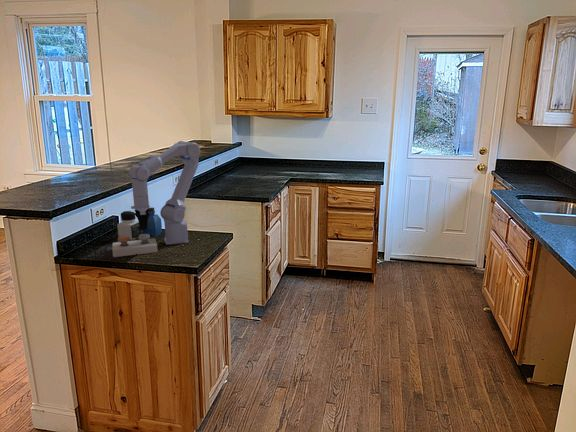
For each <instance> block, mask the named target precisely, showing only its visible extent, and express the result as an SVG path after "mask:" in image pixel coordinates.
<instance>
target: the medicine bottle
mask: <svg viewBox="0 0 576 432" xmlns="http://www.w3.org/2000/svg"><path fill="white" fill-rule="evenodd" d="M135 213H136V212H135V211H134V210H133V211H132V210H124V211H122V212H121V213H120V221H121V222H118V223H117V224H116V225H117V226H116V227H117V235H118V237H120V236H129V237H130V240H129V241H135V240H136V239H139V235H141V234H142V230H141V228H140V224H139V221H138V220H137V219H136V218H137V217H136V215H135Z"/></svg>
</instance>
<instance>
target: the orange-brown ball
mask: <svg viewBox="0 0 576 432" xmlns="http://www.w3.org/2000/svg"><path fill="white" fill-rule="evenodd" d="M127 241H131V240H130V237H129V236H120V237H119V236H118V237H117V242H121V247H122V246H128V245H127Z"/></svg>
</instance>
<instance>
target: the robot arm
mask: <svg viewBox="0 0 576 432" xmlns="http://www.w3.org/2000/svg"><path fill="white" fill-rule="evenodd" d="M201 153H202V151H201V148H200V147H199V144H198V143H196V142H194V141H193V142H192V141H191V142H190V141H183V140H179V141H178V142H176V143H174V144H173V145H172V146H171V147H168V148H167V149H166V150H164V151H163V152H162V153H160V154H159V155H157V156H156V155H149V156H147V159H145V160H143V161H140V162H138V164H134V165H131V167H129V170H128V172H127V176H128V178H130V181H131V188H132V198H133V205H132V206H131V207H130V208H131V210H134V212H135V218H137V219H136V220H137V221H139V224H140V228H141V231H143V230H147V223H148V218H149V215H150V213H148V211H149V208H151V206H150V205H149V204H150V201H149V190H148V179H149V177H150V175H152V174H153V173H155V172H157V171H158V170H160V169H161V168H162V167H163V164H164V163H166V162H168V161H170V160H172V159H173V158H175V157H176V156H178V157H179V158H180V160H181V161H182V162H183V165H184V166H183V168H182V170H181V173H180V174H179V175H180V176H179V177H178V181H177V183H176V185H175V188H174V191H173V192H172V195H171V197H170V199H168V200H167V201H166V202H165V204H164V205H163V206H162V207H161V208H160V218H161V219H163V222H164V235H165V238H164V239H163V240H164V243H165V245H167V246H168V245H177V244H184V243H186V244H187V243H189V233H188V224H187V221H186V220H184V219H185V216H186V215H185V213H186V209H187V207H186V205H185V201H186V197H187V196H188V192H189V189H190V187H191V185H192V183H193V179H194V177H195V174H196V172H197V171H198V167H199V157H200V155H201Z"/></svg>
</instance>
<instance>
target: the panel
mask: <svg viewBox="0 0 576 432" xmlns="http://www.w3.org/2000/svg"><path fill="white" fill-rule="evenodd" d="M127 245H128V246H122V247H121V242H118V241H117V242H116V241H115V242H112V248H111V249H112V257H113V258H118V257H126V256H136V254H137V255H145V254H155V253H158V244H157V239H156V238H155V237H154V238H150V239H148V244H142V240H140V239H137V240H136V239H134V240H129V241H127Z"/></svg>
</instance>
